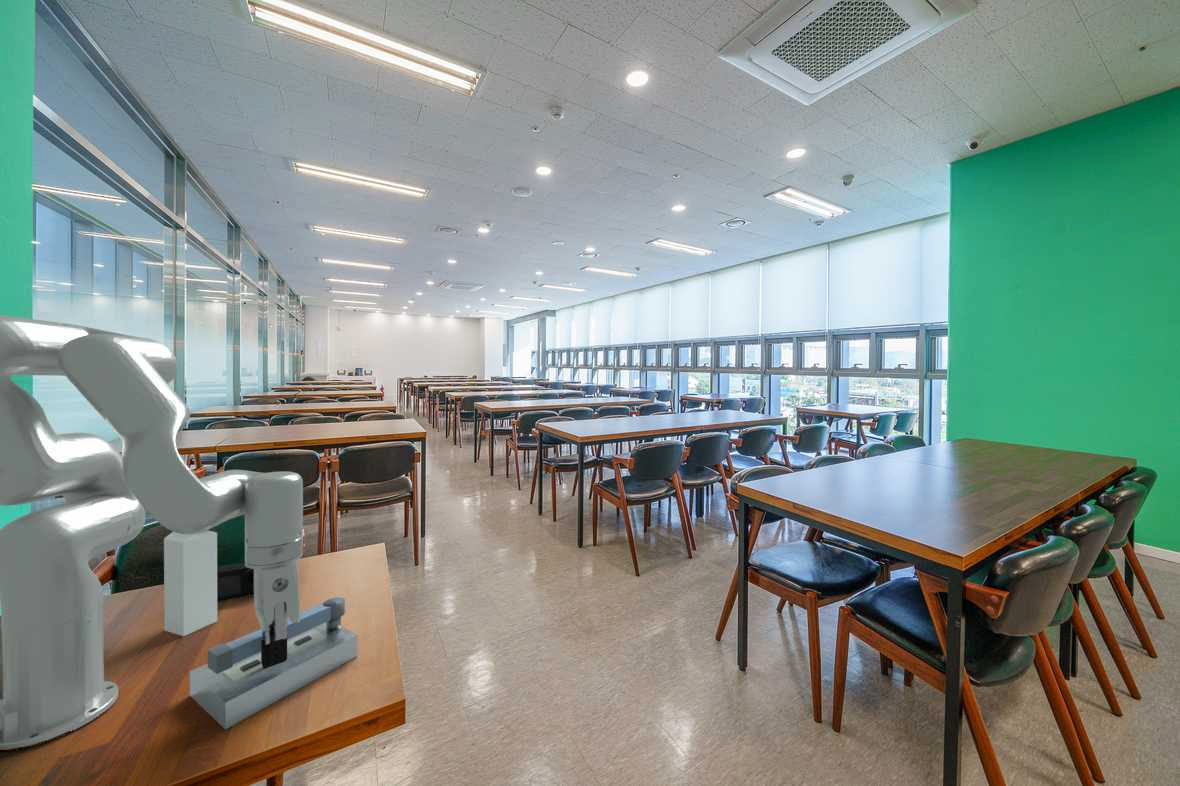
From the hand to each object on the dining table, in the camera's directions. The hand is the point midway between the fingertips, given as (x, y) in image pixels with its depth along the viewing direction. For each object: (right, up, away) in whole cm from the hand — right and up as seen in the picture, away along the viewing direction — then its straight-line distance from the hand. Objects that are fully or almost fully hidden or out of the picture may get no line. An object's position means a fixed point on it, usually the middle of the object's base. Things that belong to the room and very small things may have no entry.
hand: (274, 662), depth 70 cm
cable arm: (-2, +1, +5) cm, 6 cm away
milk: (-31, -5, +19) cm, 37 cm away
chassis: (-3, -5, +5) cm, 8 cm away
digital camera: (-31, -4, +32) cm, 45 cm away
